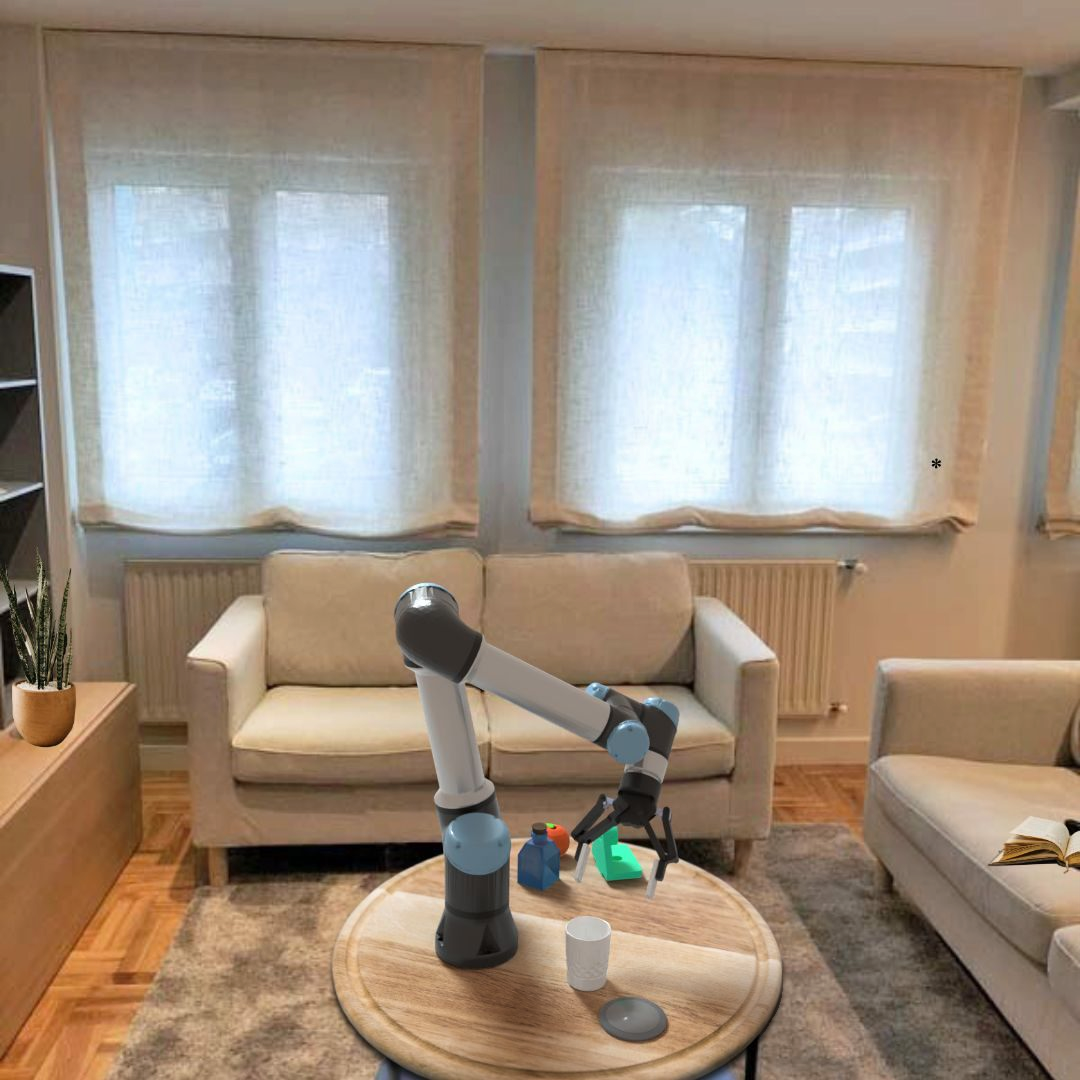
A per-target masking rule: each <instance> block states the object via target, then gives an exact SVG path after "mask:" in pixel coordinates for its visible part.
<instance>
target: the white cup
mask: <svg viewBox="0 0 1080 1080" xmlns="http://www.w3.org/2000/svg"><path fill="white" fill-rule="evenodd" d="M564 927H565V929H564V930H565V934H564V935H565V957H566V958H565V962H566V963H565V964H566V979H567V982H568V985H569V986H570V987H572V988H574V989H575V990H579V991H582V992H593V991H597V990H600V989H601V988H603V987H604V986H605V985H606V982H607V975H608V972H607V971H608V968H609V959H610V951H611V950H610V948H611V936H612V927H611V924H609V923H608V921H606V920H604V919H602V918H600V917H597V916H589V915H583V916H582V915H581V916H577V917H574V918H571V919H570V920H569V921H567V923H565V926H564Z"/></svg>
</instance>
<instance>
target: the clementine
mask: <svg viewBox="0 0 1080 1080" xmlns="http://www.w3.org/2000/svg"><path fill="white" fill-rule="evenodd" d="M545 824H546V825H547V829H546V830H547V831H548V837H547V838H548V839H551V840H553V841H554V843H555V844H556V846H557V847H558V849H559V850H560V858H561V857H562V856H564V855H565V854H566V853H567V852H568V850H569V849H570V843H571V842H570V841H571V839H570V835H569V833H568V831H567V830H566V829H565V828H564V827H562V826H561V825H560V824H554V823H550V822H549V823H547V822H546V823H545Z"/></svg>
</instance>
